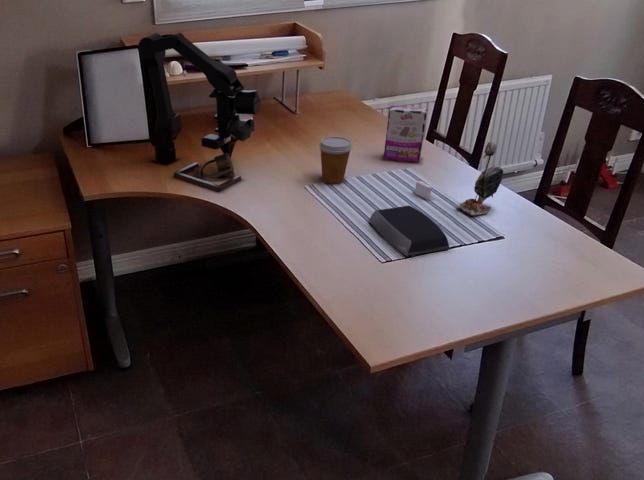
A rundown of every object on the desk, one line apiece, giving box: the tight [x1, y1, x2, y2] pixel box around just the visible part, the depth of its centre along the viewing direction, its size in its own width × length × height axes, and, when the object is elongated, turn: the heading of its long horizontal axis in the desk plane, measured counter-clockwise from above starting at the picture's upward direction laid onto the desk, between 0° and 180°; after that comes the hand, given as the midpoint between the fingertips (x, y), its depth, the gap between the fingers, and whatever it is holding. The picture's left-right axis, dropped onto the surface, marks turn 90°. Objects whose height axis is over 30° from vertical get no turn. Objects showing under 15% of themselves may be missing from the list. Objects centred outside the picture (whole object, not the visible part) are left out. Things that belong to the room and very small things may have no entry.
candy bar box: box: [383, 105, 429, 164], centre depth 197 cm, size 11×5×16 cm, turn 68°
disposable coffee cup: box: [318, 136, 353, 185], centre depth 187 cm, size 10×10×12 cm
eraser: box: [414, 180, 433, 201], centre depth 177 cm, size 1×5×4 cm, turn 25°
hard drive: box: [368, 205, 450, 257], centre depth 158 cm, size 13×19×4 cm
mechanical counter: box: [193, 153, 236, 180], centre depth 194 cm, size 7×13×10 cm
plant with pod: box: [456, 141, 504, 216], centre depth 165 cm, size 8×11×20 cm
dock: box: [173, 161, 242, 193], centre depth 194 cm, size 18×10×2 cm, turn 48°
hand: (228, 160), depth 199 cm, fingers closed
